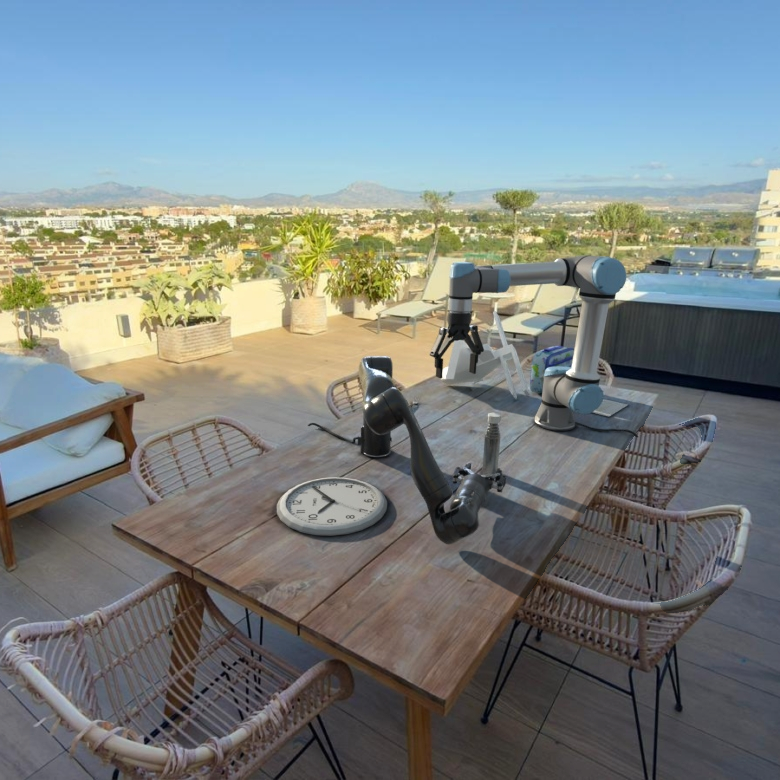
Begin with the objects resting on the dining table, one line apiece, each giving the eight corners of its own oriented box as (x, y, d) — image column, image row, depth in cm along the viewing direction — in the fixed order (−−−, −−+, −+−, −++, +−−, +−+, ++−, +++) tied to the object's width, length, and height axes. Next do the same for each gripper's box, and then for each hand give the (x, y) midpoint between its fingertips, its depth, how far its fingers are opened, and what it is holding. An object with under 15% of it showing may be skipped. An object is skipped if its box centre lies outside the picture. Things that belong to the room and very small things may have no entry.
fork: (403, 411, 216) (403, 406, 215) (414, 400, 230) (414, 395, 230) (409, 412, 215) (409, 407, 215) (420, 400, 229) (420, 396, 229)
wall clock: (392, 527, 129) (268, 531, 127) (391, 533, 130) (269, 537, 127) (383, 473, 158) (282, 475, 155) (383, 478, 158) (282, 480, 156)
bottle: (498, 476, 161) (503, 418, 156) (483, 476, 161) (487, 418, 156) (495, 469, 166) (500, 413, 160) (480, 469, 166) (485, 413, 160)
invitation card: (608, 416, 214) (573, 407, 224) (608, 416, 214) (573, 408, 224) (628, 404, 229) (594, 396, 238) (628, 405, 229) (594, 397, 238)
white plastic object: (461, 429, 252) (437, 405, 227) (444, 352, 274) (420, 323, 250) (535, 404, 240) (518, 377, 215) (510, 326, 262) (492, 293, 237)
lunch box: (546, 399, 235) (551, 353, 228) (525, 393, 242) (530, 349, 236) (574, 387, 252) (579, 345, 246) (553, 383, 260) (558, 341, 253)
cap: (501, 423, 156) (502, 417, 156) (488, 423, 156) (489, 416, 156) (498, 419, 160) (499, 412, 160) (486, 419, 160) (486, 412, 160)
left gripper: (499, 485, 134) (509, 460, 149) (446, 475, 139) (461, 452, 154) (497, 511, 137) (507, 484, 151) (444, 500, 142) (459, 475, 156)
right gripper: (483, 307, 177) (478, 368, 184) (420, 312, 166) (418, 376, 172) (497, 311, 171) (492, 373, 177) (433, 315, 159) (430, 382, 166)
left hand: (484, 468), depth 152 cm, fingers open, 8 cm apart
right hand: (456, 375), depth 175 cm, fingers open, 13 cm apart
